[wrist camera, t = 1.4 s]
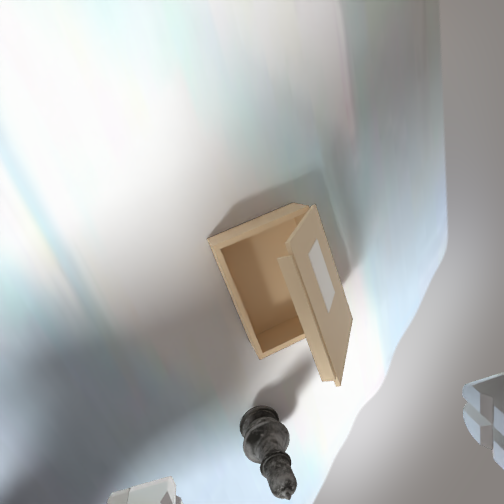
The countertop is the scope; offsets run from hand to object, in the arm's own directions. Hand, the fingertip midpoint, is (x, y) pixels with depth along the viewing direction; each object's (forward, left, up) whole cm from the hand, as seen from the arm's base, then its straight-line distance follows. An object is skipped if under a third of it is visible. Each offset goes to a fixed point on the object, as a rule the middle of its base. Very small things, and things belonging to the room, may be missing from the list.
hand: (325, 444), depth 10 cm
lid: (-7, -8, -24) cm, 26 cm away
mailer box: (-7, -6, -34) cm, 35 cm away
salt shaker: (-25, +2, -34) cm, 43 cm away
